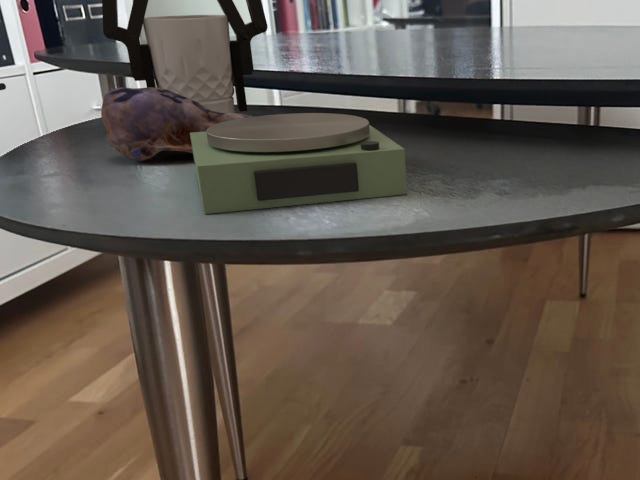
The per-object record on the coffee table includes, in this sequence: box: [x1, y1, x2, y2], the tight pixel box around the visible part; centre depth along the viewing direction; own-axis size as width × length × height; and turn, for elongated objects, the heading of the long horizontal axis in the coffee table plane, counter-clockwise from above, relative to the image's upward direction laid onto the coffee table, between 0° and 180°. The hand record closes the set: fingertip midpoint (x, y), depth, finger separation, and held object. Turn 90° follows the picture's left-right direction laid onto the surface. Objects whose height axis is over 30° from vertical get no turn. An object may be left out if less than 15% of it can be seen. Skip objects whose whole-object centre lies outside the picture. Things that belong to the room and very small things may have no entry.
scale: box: [190, 124, 408, 215], centre depth 59 cm, size 13×13×3 cm
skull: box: [100, 86, 253, 162], centre depth 69 cm, size 12×8×6 cm, turn 88°
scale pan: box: [206, 112, 370, 152], centre depth 59 cm, size 11×11×1 cm
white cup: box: [142, 14, 236, 113], centre depth 83 cm, size 8×8×10 cm
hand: (199, 112), depth 85 cm, fingers closed on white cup, 8 cm apart
